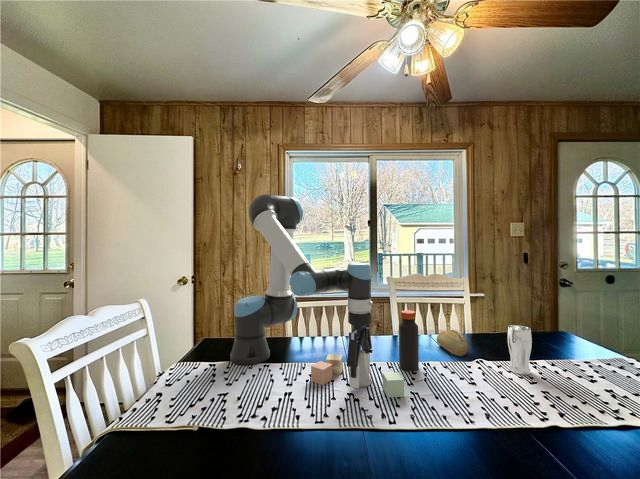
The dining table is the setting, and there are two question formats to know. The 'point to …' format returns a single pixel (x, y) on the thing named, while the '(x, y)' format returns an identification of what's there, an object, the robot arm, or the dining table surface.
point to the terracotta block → (321, 372)
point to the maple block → (335, 363)
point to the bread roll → (453, 342)
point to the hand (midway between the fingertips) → (360, 379)
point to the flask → (363, 371)
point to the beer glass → (519, 348)
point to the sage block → (393, 384)
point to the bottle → (408, 342)
